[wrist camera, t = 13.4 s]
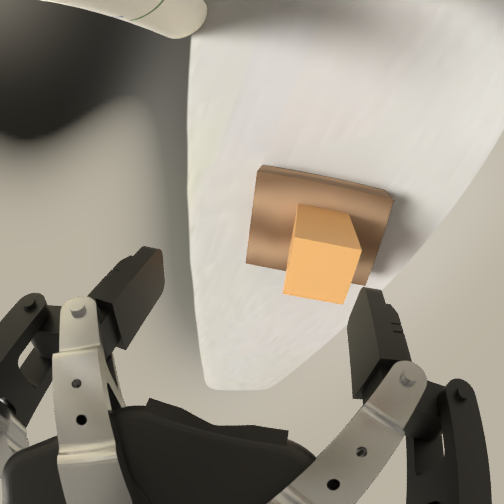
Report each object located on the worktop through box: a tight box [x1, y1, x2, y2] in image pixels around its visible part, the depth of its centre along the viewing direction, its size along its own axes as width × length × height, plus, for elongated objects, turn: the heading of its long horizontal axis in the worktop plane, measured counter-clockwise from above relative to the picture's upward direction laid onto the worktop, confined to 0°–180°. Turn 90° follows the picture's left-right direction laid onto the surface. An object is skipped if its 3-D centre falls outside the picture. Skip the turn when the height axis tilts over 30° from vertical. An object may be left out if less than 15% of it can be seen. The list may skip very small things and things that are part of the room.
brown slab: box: [246, 165, 394, 286], centre depth 32 cm, size 12×16×10 cm
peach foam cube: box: [283, 204, 362, 304], centre depth 30 cm, size 9×6×9 cm, turn 173°
